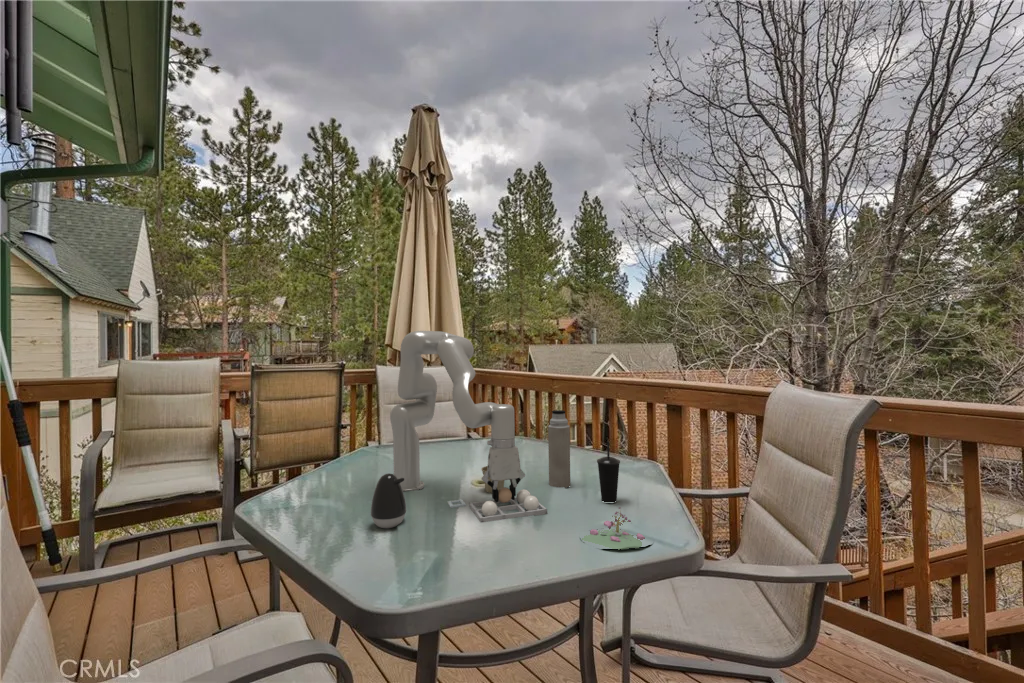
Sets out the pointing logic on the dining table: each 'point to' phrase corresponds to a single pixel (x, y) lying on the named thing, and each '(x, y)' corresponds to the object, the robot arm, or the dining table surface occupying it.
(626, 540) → the plant
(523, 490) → the white egg
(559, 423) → the thermos bottle
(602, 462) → the drinking cup
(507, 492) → the brown egg
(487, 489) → the flower pot
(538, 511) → the carton
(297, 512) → the dining table surface
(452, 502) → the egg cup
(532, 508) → the white egg
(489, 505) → the white egg
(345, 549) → the dining table surface
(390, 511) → the penguin figurine
